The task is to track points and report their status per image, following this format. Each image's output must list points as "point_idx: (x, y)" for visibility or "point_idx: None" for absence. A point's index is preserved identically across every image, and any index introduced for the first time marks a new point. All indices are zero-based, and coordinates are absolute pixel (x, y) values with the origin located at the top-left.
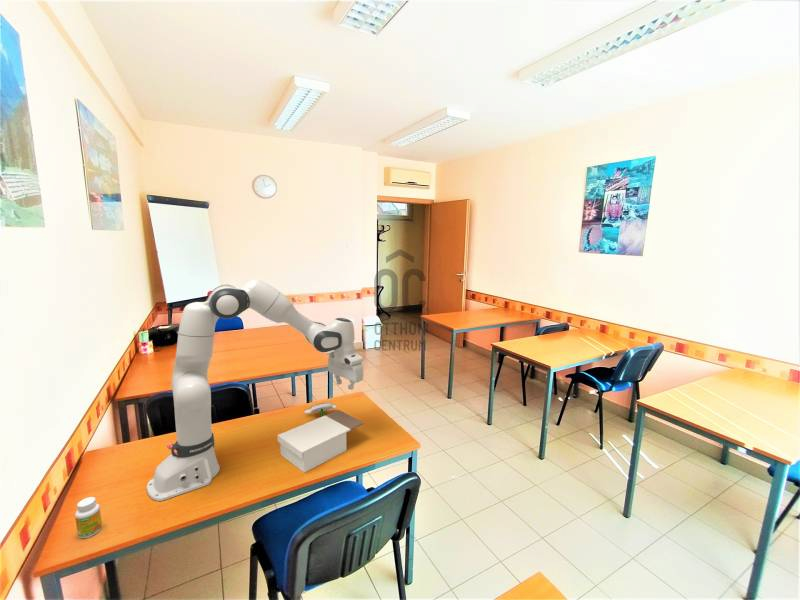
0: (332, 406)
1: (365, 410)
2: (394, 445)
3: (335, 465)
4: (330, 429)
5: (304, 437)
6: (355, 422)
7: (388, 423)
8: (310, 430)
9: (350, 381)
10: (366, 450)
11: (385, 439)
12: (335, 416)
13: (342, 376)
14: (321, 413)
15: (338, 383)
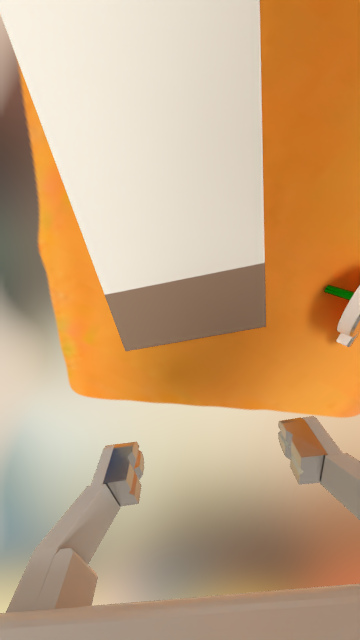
0: (347, 335)
1: (269, 392)
2: (88, 366)
3: (63, 198)
4: (140, 226)
5: (130, 58)
6: (141, 330)
7: (180, 400)
8: (182, 131)
9: (48, 571)
10: (97, 307)
11: (120, 363)
12: (227, 293)
13: (197, 636)
14: (344, 290)
15: (286, 430)
